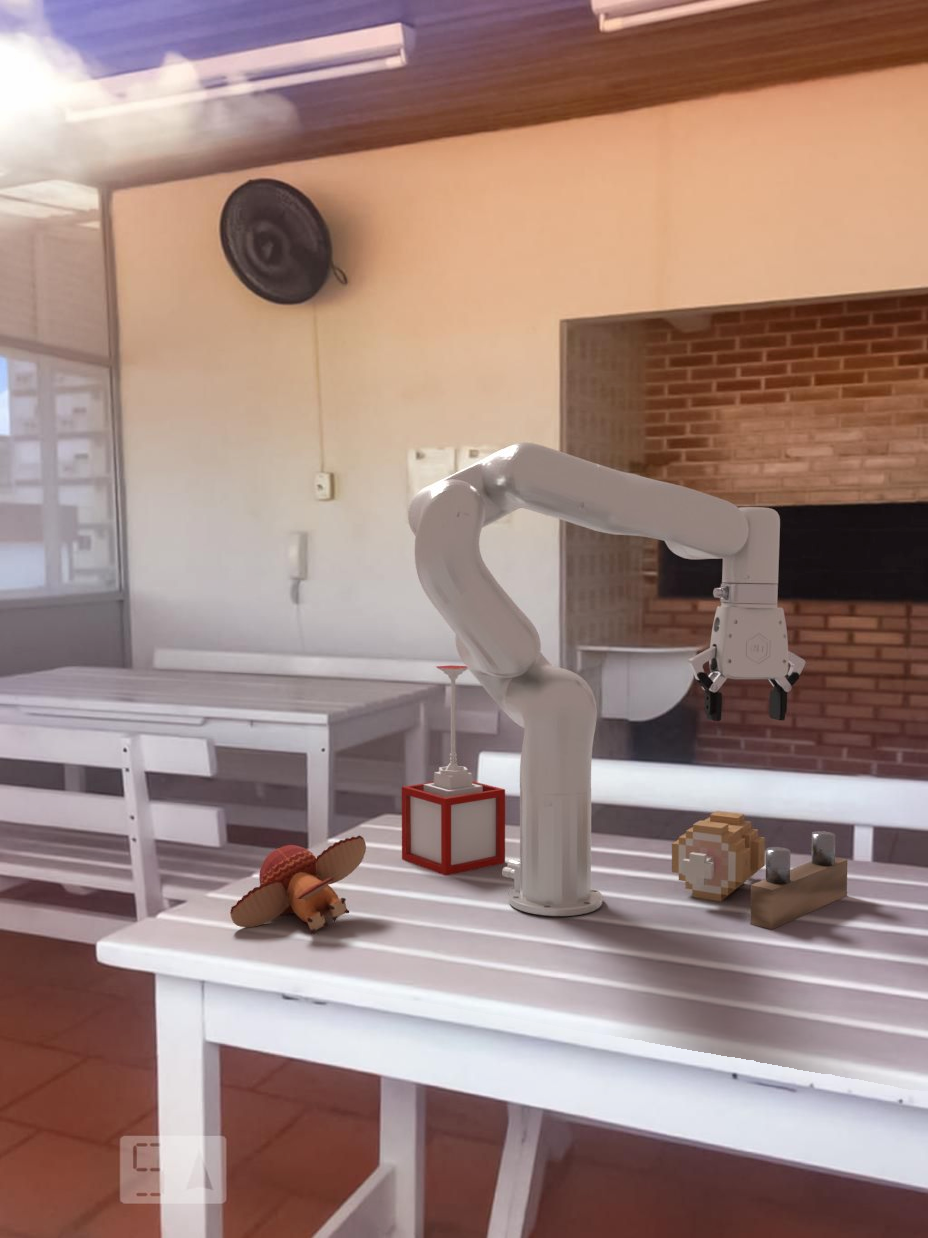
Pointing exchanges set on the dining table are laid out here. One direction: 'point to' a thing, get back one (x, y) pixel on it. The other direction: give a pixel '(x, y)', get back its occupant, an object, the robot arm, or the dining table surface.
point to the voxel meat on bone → (718, 855)
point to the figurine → (300, 884)
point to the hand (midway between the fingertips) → (745, 719)
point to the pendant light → (453, 815)
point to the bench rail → (798, 883)
